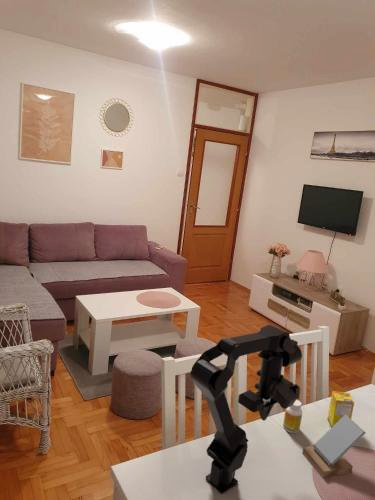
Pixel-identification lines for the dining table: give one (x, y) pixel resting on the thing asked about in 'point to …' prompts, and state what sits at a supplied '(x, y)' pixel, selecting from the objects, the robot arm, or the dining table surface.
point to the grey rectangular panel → (338, 440)
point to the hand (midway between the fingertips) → (263, 419)
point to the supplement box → (340, 407)
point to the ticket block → (322, 466)
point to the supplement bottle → (293, 417)
